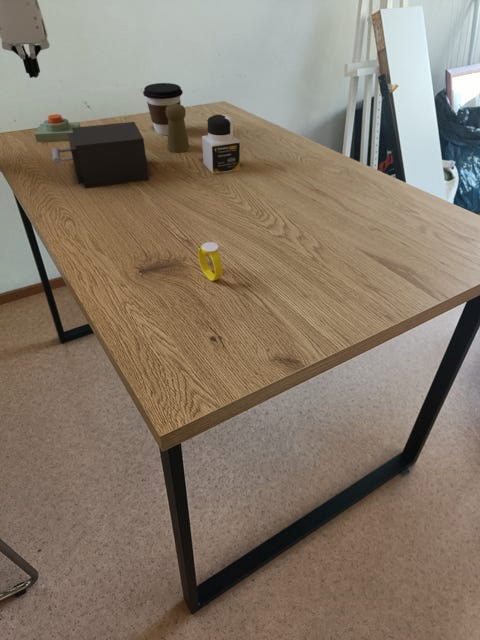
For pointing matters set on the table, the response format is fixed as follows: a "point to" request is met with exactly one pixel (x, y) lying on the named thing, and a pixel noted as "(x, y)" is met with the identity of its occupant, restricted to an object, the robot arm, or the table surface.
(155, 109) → the coffee cup
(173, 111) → the olive brown pawn
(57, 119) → the button
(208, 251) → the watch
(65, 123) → the control block
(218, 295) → the table surface
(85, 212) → the table surface
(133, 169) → the black drawer box
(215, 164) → the medicine bottle
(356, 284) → the table surface
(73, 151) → the drawer
